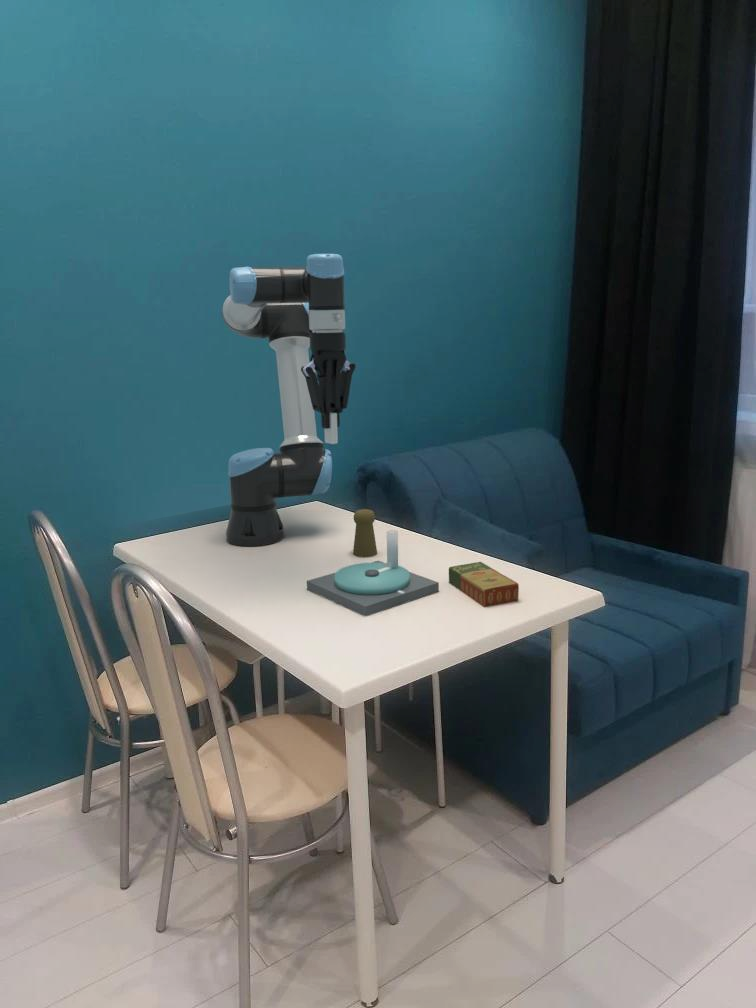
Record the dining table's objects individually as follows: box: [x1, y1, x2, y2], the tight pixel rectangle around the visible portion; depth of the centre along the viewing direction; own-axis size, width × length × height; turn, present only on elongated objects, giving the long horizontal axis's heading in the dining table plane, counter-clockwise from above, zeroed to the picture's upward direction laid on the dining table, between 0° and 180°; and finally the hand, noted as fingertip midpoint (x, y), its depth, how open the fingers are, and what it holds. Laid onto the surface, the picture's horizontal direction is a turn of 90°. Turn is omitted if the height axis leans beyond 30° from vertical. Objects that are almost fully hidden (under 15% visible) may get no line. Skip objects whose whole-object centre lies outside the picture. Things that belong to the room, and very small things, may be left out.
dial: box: [334, 530, 410, 595], centre depth 165 cm, size 16×16×10 cm
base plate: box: [306, 560, 440, 617], centre depth 166 cm, size 20×20×2 cm
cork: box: [352, 508, 378, 558], centre depth 190 cm, size 6×6×11 cm
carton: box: [448, 561, 520, 608], centre depth 165 cm, size 8×16×4 cm, turn 22°
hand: (331, 442), depth 169 cm, fingers closed
